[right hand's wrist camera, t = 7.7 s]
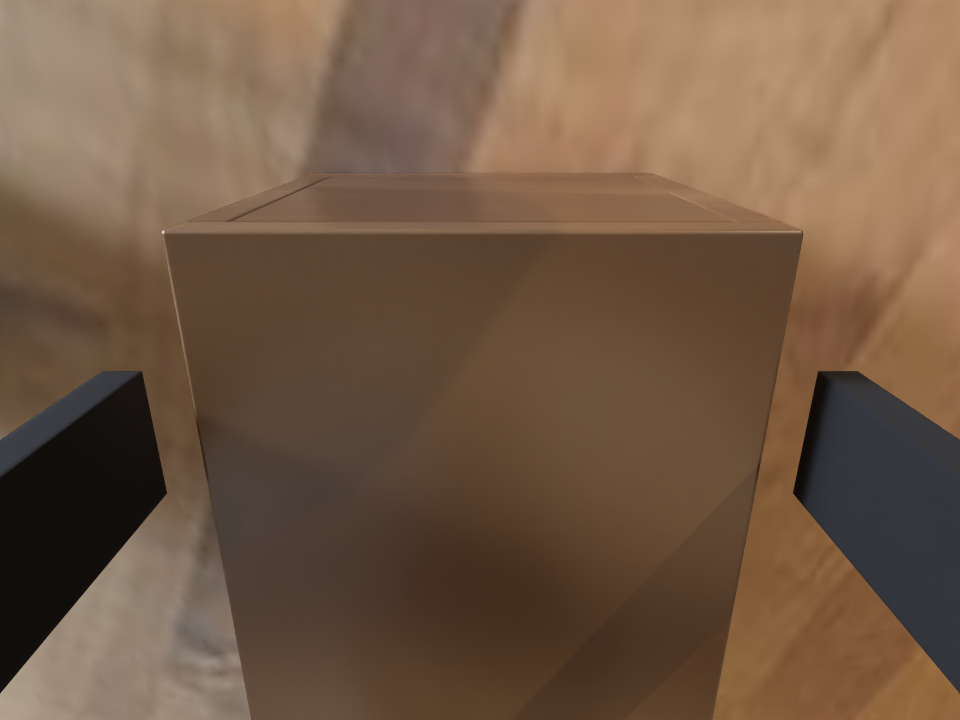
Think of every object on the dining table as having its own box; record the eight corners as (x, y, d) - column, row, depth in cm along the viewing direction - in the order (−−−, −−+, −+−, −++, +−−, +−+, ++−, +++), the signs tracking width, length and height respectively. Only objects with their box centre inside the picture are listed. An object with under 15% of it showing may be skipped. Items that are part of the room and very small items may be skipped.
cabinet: (613, 583, 26) (688, 853, 16) (349, 582, 26) (274, 851, 16) (653, 172, 20) (806, 229, 10) (311, 173, 20) (158, 229, 10)
